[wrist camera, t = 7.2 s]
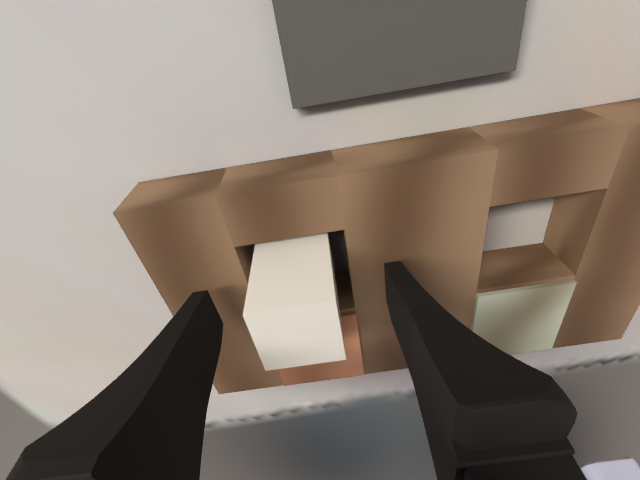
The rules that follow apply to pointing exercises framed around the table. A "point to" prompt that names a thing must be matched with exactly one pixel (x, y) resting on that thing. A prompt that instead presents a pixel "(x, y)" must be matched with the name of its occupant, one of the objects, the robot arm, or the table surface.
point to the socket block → (415, 235)
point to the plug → (294, 303)
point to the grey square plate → (392, 44)
